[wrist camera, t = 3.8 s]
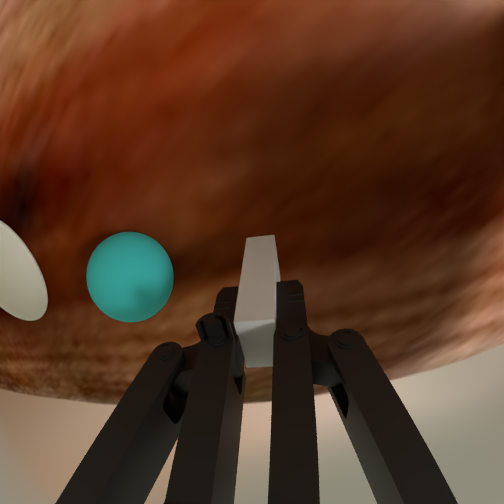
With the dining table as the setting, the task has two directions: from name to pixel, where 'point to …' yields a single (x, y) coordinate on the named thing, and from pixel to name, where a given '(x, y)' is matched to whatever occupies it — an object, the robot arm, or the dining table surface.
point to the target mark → (20, 278)
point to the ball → (130, 276)
